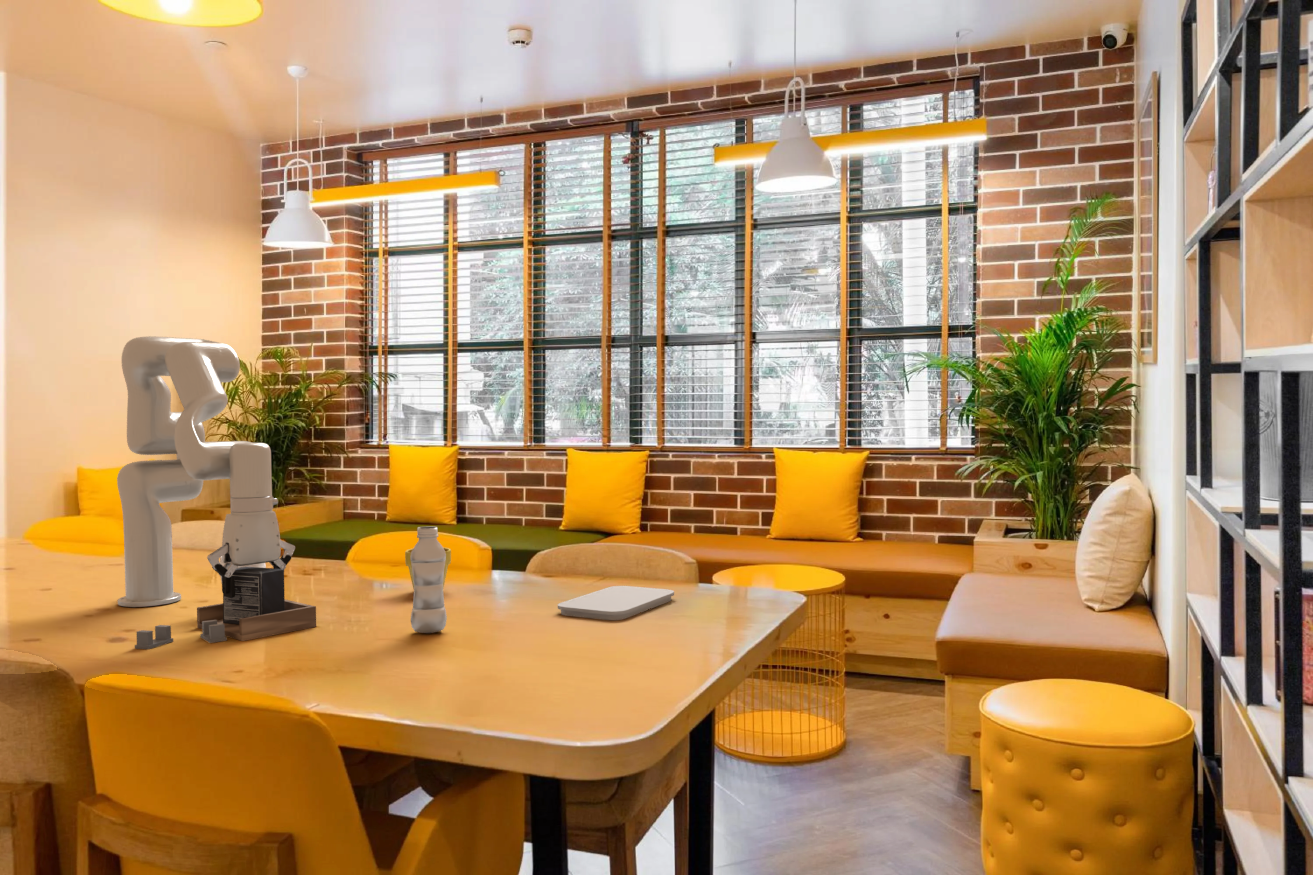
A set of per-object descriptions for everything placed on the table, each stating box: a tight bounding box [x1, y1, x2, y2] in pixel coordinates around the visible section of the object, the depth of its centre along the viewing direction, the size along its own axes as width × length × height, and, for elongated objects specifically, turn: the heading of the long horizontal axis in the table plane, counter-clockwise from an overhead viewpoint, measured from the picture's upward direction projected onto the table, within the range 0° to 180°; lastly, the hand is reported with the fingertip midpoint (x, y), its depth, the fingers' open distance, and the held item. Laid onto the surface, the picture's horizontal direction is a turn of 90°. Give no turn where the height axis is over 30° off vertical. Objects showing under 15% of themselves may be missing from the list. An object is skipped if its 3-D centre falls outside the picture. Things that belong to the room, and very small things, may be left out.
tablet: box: [557, 585, 675, 621], centre depth 209 cm, size 16×26×2 cm, turn 152°
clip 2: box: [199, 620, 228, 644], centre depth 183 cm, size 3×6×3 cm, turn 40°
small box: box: [222, 567, 286, 624], centre depth 192 cm, size 11×6×10 cm, turn 66°
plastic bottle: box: [410, 525, 448, 634], centre depth 186 cm, size 6×7×20 cm
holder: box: [196, 599, 317, 642], centre depth 193 cm, size 18×15×4 cm
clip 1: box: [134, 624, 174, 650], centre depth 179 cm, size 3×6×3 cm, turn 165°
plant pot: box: [404, 546, 452, 590], centre depth 229 cm, size 10×10×10 cm
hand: (253, 593), depth 192 cm, fingers open, 9 cm apart
